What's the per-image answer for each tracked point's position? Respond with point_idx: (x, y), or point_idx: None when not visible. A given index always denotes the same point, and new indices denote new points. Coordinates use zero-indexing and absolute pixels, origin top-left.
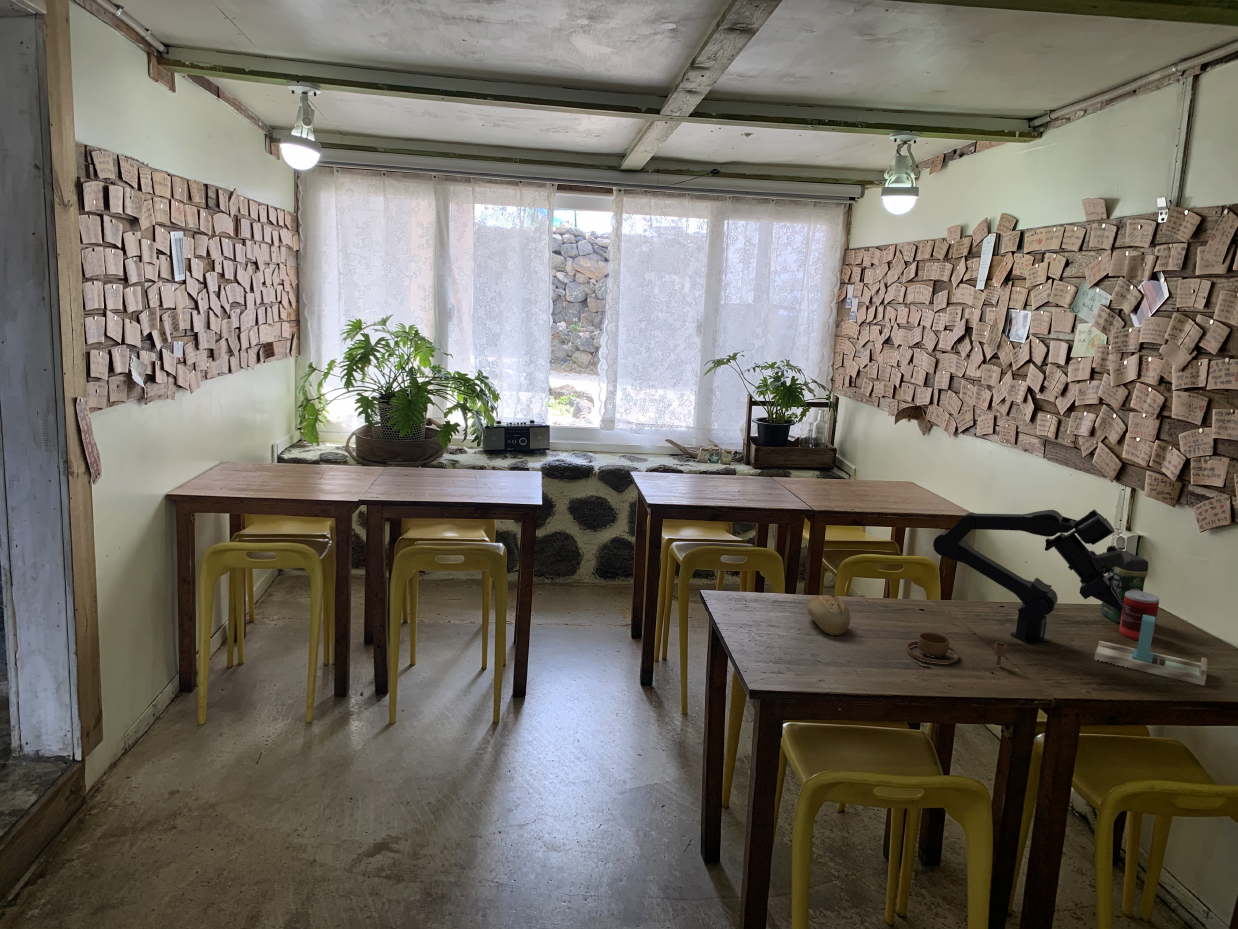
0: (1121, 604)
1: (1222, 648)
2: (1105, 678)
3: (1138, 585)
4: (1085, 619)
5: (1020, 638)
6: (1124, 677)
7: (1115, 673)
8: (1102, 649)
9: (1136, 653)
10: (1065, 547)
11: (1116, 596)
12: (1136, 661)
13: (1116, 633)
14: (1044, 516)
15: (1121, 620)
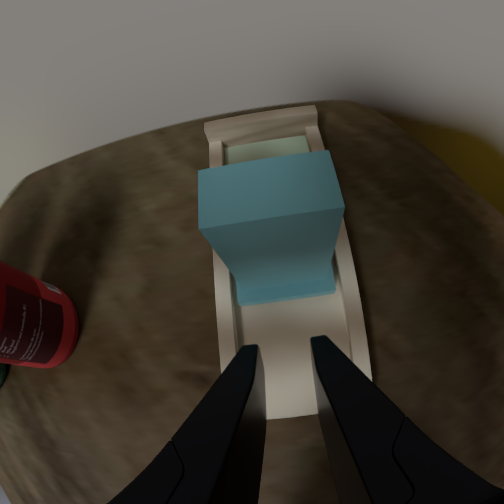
0: (318, 355)
1: (48, 172)
2: (484, 323)
3: None
4: (29, 443)
5: None
6: (439, 288)
7: (431, 316)
8: (276, 402)
9: (291, 285)
10: None
11: (358, 423)
12: (354, 272)
13: (62, 374)
14: None
15: (31, 364)
